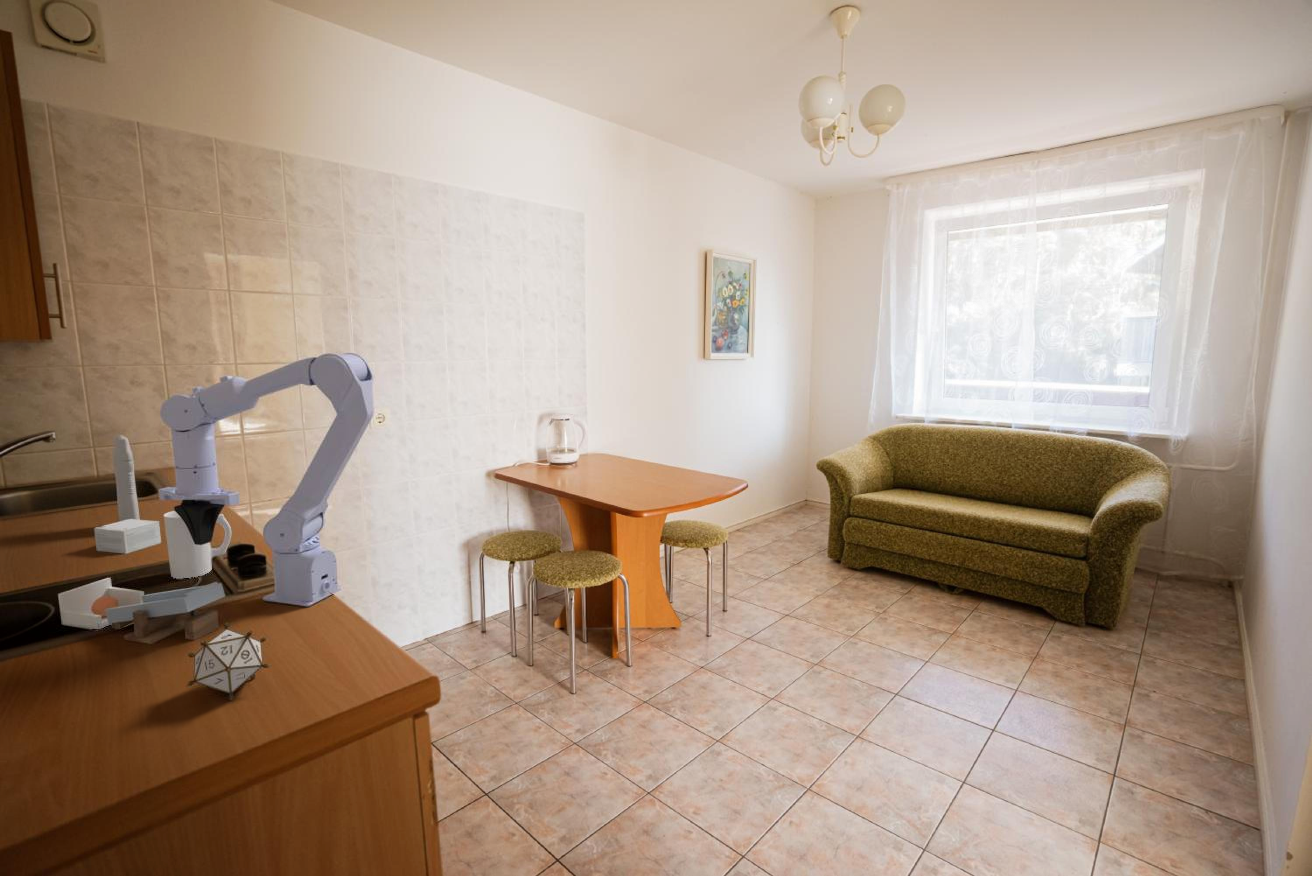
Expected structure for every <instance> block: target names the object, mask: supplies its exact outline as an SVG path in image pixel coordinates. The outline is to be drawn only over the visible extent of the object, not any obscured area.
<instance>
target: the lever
mask: <svg viewBox="0 0 1312 876" xmlns="http://www.w3.org/2000/svg"><path fill="white" fill-rule="evenodd" d="M225 597H226V594H225V590H224V587H223V584H222V582H218V581H214V582H211V583H209V584H206V585H200V586H199V585H198V586H193V587H188V588H181V589H174V590H168V591H161V592H155V593H148V594H144V596H142V600H143V603H141V604H134V605H128V606H121V607H115V608H109V609H106V610H105V613H106V617H107V620H108V623H109V624H110V623H117V622H124V621H130V620H133V612H134V611H137V610H142V611H147V618H151V617H158V616H165V615H172V614H179V613H186V612H189V611H192V610H194V609H197V608H201V607H204V606H206V605H209V604H210V603H213V602H215V601H218V600H220V599H222V598H225Z"/></svg>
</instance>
